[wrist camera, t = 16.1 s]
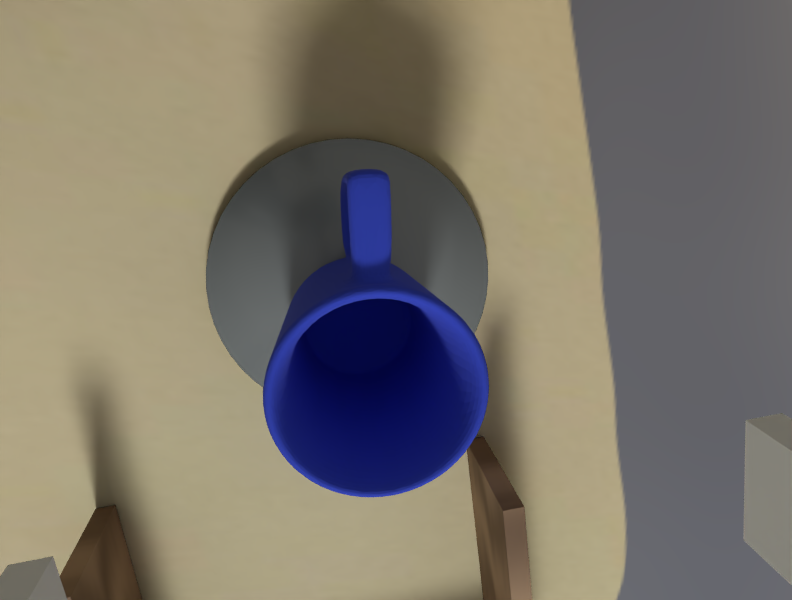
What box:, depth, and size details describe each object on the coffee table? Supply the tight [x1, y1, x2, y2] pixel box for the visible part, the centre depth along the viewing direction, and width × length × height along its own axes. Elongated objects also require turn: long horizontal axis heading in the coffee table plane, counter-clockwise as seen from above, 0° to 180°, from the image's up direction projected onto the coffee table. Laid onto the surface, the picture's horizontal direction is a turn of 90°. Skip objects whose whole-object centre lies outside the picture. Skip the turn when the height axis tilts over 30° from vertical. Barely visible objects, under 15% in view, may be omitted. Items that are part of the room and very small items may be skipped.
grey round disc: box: [206, 138, 488, 387], centre depth 33 cm, size 14×14×1 cm
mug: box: [263, 169, 489, 497], centre depth 28 cm, size 8×12×10 cm
